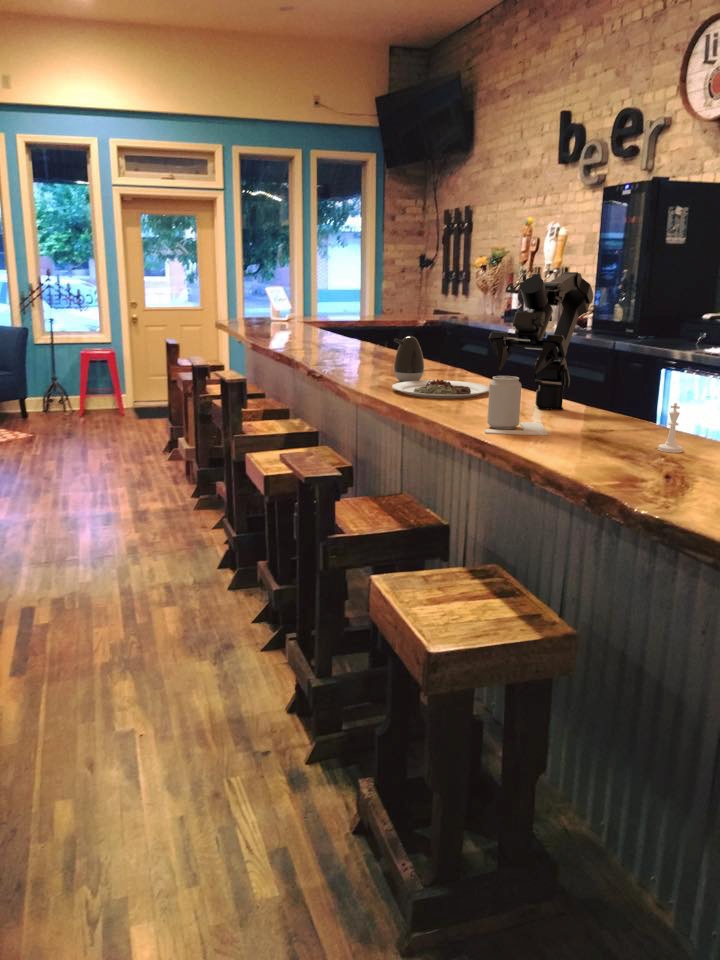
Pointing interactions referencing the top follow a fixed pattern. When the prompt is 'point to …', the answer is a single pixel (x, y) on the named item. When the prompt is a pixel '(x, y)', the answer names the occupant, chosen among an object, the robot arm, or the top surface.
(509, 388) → the can
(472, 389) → the plated food
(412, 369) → the pump dispenser
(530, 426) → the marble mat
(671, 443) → the chess piece
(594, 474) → the top surface
